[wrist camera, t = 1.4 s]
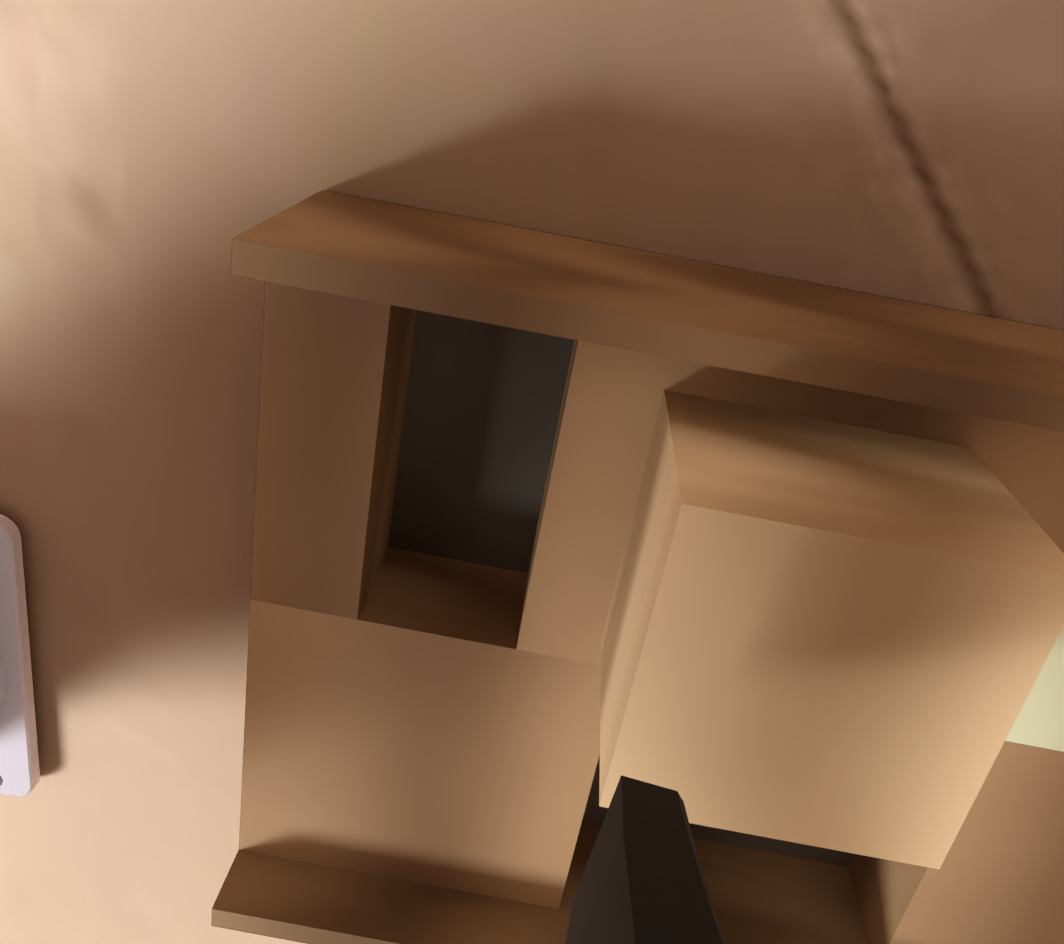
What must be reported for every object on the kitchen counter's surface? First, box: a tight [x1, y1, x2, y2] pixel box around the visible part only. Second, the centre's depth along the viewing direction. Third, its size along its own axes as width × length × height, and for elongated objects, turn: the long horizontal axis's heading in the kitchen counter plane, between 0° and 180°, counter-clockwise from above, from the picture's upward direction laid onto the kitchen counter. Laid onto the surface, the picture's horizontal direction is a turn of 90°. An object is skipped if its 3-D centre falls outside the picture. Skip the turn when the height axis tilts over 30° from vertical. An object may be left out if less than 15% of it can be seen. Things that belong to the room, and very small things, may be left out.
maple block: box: [599, 390, 1064, 869], centre depth 14 cm, size 5×5×4 cm
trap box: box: [211, 190, 1064, 944], centre depth 18 cm, size 20×14×5 cm
